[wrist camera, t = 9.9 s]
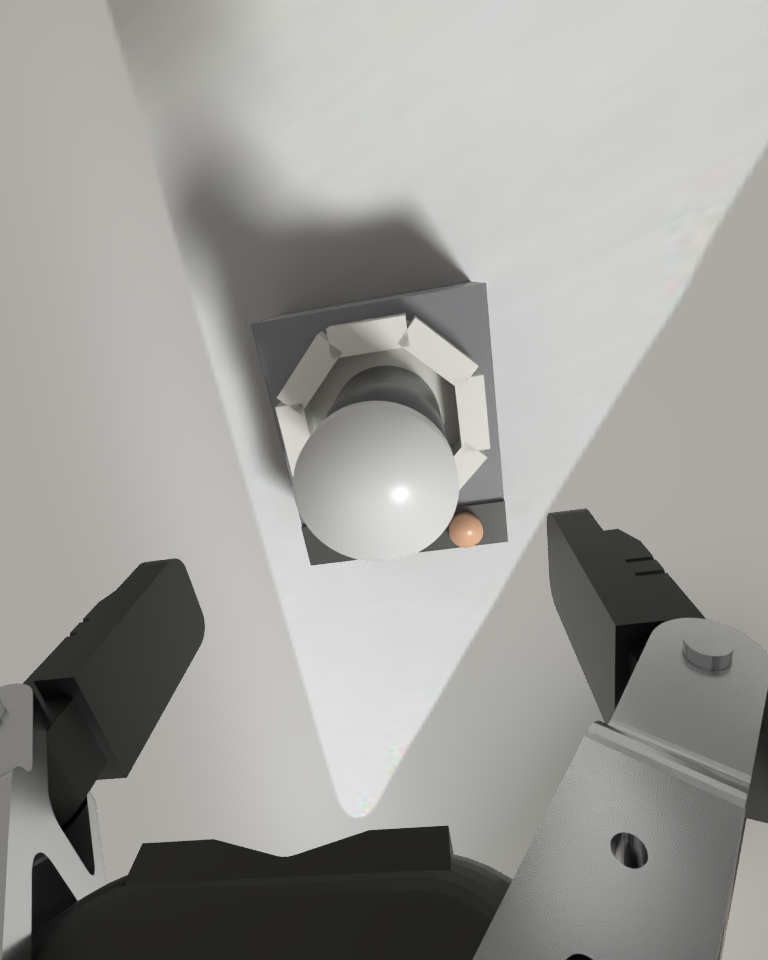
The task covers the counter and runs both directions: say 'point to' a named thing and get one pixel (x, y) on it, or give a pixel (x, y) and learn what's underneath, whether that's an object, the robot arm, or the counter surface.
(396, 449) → the dark capped cylinder
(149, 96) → the counter surface
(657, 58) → the counter surface
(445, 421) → the block with octagonal ring
